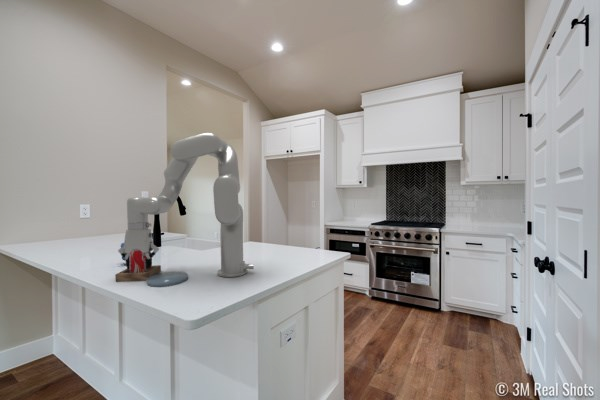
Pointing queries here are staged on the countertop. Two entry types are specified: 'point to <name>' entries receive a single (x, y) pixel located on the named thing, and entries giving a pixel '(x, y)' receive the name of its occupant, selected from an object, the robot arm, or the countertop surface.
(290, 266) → the countertop surface
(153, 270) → the holder
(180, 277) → the plate
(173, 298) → the countertop surface
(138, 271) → the soda can
